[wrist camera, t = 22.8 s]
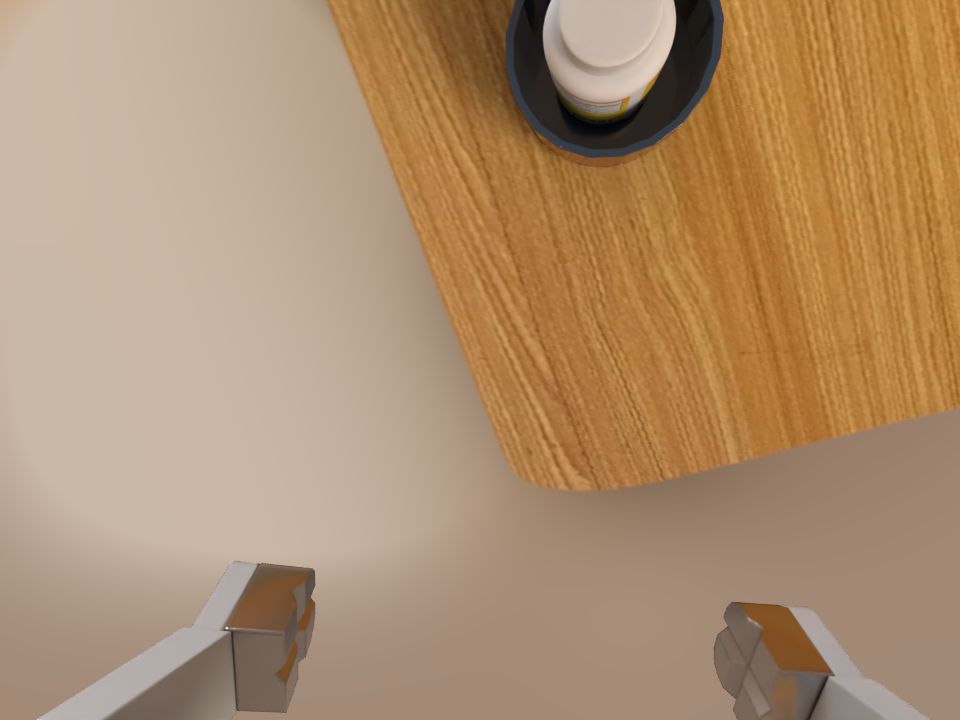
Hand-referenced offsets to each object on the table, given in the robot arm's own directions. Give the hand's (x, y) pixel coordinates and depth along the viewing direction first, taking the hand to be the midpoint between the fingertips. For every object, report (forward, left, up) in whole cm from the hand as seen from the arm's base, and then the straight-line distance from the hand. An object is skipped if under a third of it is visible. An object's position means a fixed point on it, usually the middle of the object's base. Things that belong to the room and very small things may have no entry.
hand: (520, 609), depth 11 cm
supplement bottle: (+15, -2, -26) cm, 30 cm away
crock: (+15, -2, -26) cm, 30 cm away
